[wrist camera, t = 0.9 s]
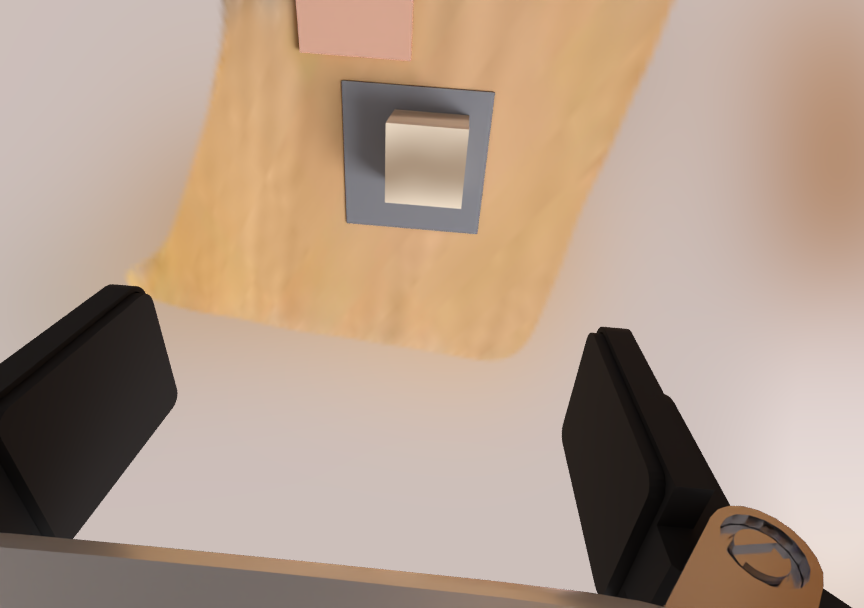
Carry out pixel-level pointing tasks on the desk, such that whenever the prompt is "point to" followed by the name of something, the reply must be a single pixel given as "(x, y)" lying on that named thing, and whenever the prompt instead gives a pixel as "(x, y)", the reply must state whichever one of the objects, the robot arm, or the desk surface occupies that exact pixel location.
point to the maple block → (425, 158)
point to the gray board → (366, 153)
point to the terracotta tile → (356, 28)
